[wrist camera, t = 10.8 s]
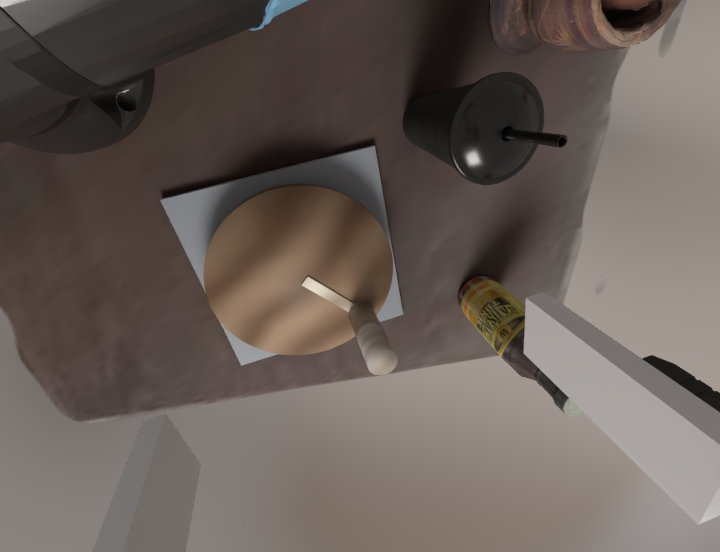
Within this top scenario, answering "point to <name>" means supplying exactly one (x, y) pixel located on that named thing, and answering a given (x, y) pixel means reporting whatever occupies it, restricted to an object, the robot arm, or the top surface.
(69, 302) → the top surface
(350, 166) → the wheel stand
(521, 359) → the sauce bottle
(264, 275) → the handwheel
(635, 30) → the mortar and pestle
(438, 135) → the drinking cup
